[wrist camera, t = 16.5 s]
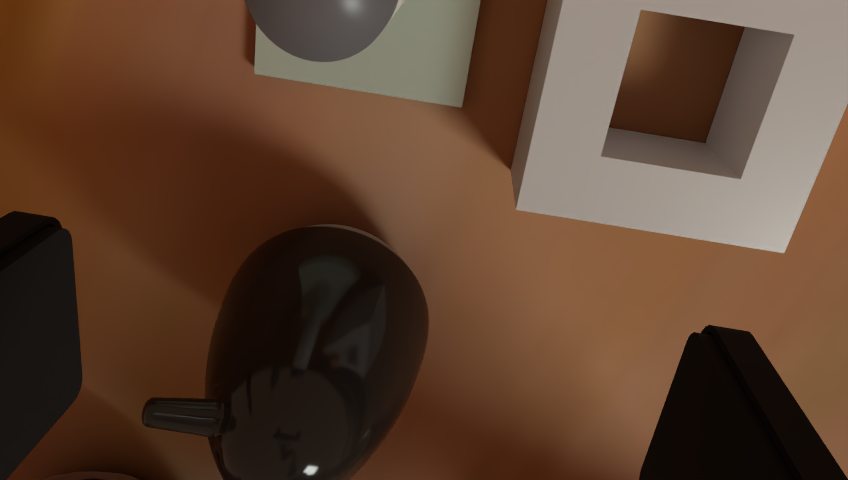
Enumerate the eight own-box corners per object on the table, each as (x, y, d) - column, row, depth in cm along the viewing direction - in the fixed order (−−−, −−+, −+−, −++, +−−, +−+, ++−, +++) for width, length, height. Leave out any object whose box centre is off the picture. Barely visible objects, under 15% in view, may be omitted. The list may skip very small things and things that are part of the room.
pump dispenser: (285, 163, 36) (167, 322, 22) (465, 247, 37) (459, 446, 23) (223, 313, 40) (91, 524, 26) (386, 383, 41) (342, 619, 28)
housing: (744, 208, 35) (784, 253, 31) (510, 170, 35) (515, 209, 31) (903, -207, 27) (988, -230, 23) (602, -257, 27) (628, -290, 23)
